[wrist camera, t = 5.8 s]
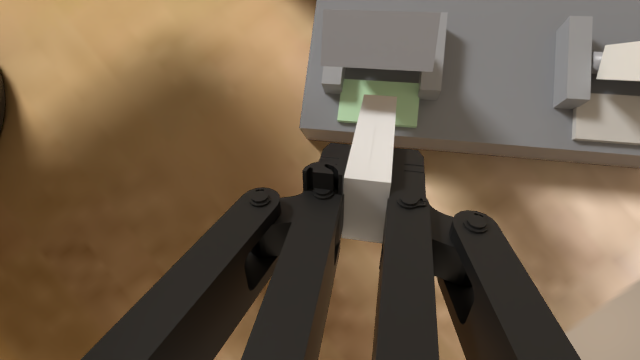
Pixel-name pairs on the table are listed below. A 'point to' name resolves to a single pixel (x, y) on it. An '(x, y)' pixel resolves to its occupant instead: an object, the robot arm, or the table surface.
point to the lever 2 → (617, 62)
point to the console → (494, 82)
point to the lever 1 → (379, 39)
